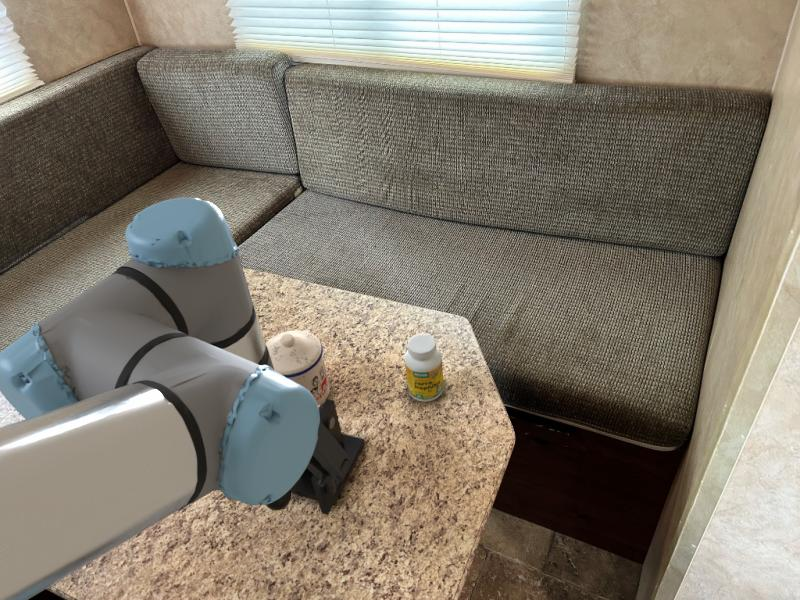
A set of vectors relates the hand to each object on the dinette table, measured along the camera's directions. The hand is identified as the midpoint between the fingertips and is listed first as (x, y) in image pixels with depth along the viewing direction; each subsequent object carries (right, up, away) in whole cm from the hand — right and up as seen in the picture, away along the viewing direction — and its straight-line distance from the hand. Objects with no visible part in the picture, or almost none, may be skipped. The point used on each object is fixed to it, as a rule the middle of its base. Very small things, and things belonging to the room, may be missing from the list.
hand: (276, 488), depth 69 cm
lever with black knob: (+2, +2, +4) cm, 5 cm away
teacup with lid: (-1, +8, +24) cm, 25 cm away
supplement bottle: (+18, +8, +21) cm, 29 cm away
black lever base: (+4, -1, +12) cm, 13 cm away
